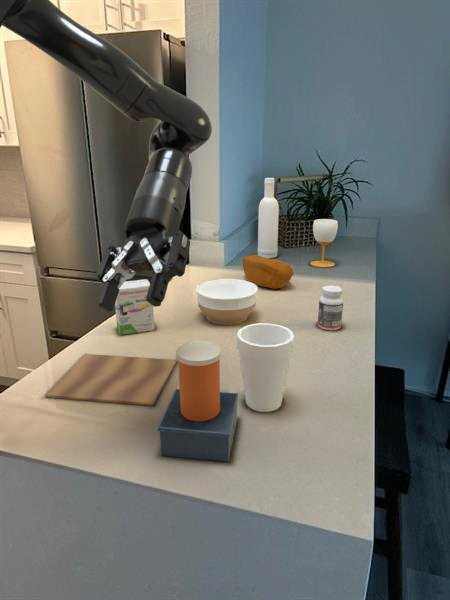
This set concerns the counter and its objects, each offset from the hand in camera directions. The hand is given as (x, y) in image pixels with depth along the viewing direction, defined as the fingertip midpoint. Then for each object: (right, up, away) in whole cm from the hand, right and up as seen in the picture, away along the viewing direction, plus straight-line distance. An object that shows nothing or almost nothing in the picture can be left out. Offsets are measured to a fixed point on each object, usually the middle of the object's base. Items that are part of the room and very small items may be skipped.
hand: (128, 306), depth 57 cm
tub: (+9, -16, +8) cm, 20 cm away
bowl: (+13, -4, +56) cm, 58 cm away
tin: (+9, -20, +10) cm, 25 cm away
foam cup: (+20, -17, +19) cm, 32 cm away
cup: (+49, +14, +103) cm, 115 cm away
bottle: (+30, +18, +115) cm, 120 cm away
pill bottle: (+39, -6, +50) cm, 63 cm away
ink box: (-9, -7, +49) cm, 50 cm away
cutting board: (-8, -14, +27) cm, 32 cm away
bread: (+27, +7, +83) cm, 88 cm away
